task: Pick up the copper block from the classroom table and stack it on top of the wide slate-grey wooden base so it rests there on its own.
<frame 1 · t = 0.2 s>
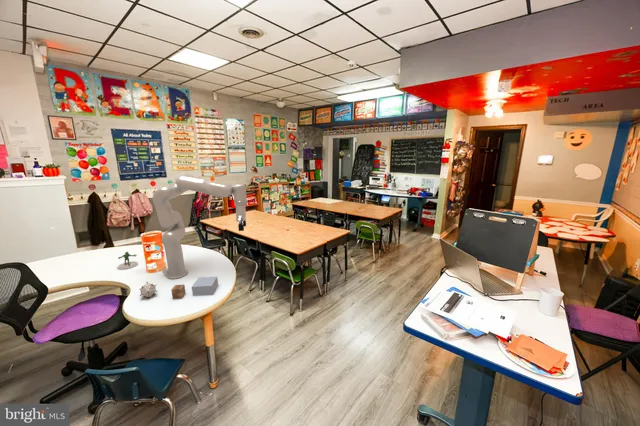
hand: (242, 228, 165), 31 cm above the table, fingers open, 9 cm apart
game die: (149, 296, 143), on the table
slate base: (206, 290, 149), on the table
copper block: (179, 296, 143), on the table
monster figurine: (128, 266, 180), on the table
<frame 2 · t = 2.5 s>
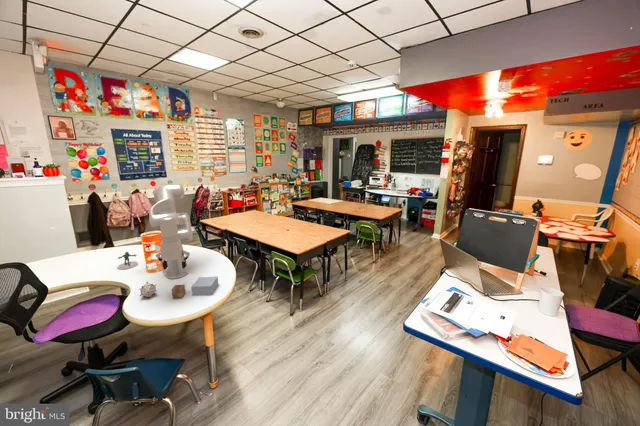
hand: (175, 268, 138), 18 cm above the table, fingers open, 9 cm apart
nothing on the table moved.
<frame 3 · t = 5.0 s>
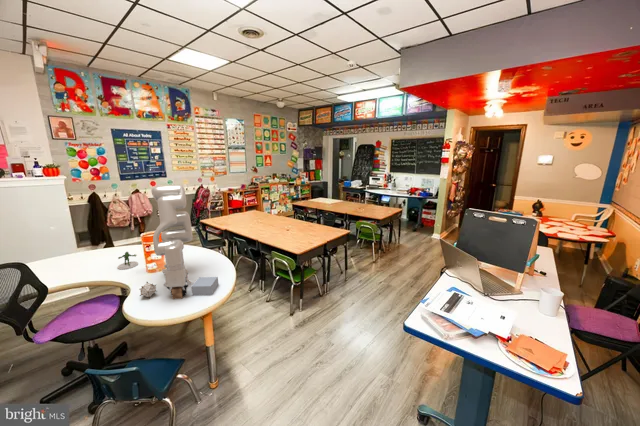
hand: (179, 295, 142), 1 cm above the table, fingers closed on copper block, 5 cm apart
copper block: (179, 296, 143), on the table, touching gripper
everything else where it was.
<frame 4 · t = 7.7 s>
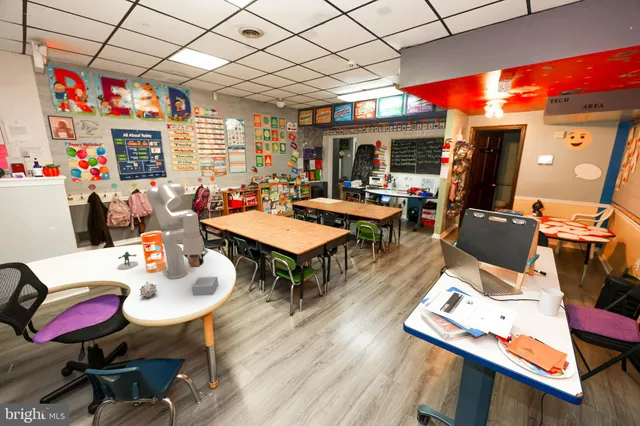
hand: (196, 264, 143), 18 cm above the table, fingers closed on copper block, 4 cm apart
copper block: (196, 265, 143), point 17 cm above the table, touching gripper
everything else where it was.
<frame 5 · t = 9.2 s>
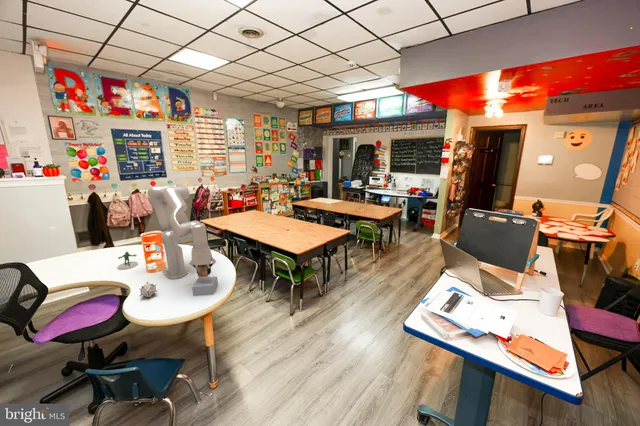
hand: (204, 273, 146), 11 cm above the table, fingers closed on copper block, 4 cm apart
copper block: (204, 275, 146), point 10 cm above the table, touching gripper
everything else where it was.
when the fingers open (8 cm above the table, at t = 10.4 s): copper block drops 2 cm, resting on slate base.
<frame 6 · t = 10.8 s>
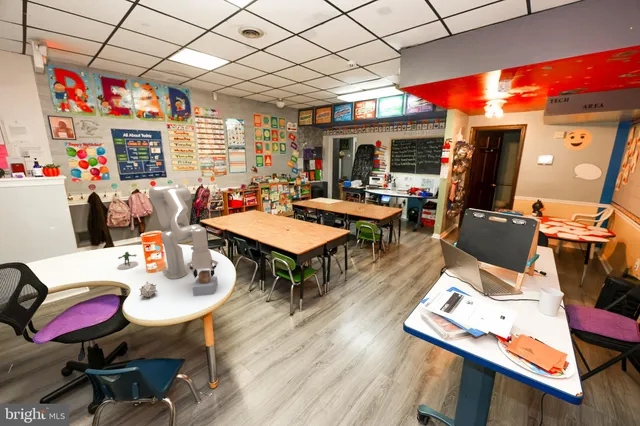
hand: (204, 276, 147), 9 cm above the table, fingers open, 8 cm apart
slate base: (206, 290, 149), on the table, touching copper block
copper block: (205, 281, 147), point 6 cm above the table, touching slate base
everything else where it was.
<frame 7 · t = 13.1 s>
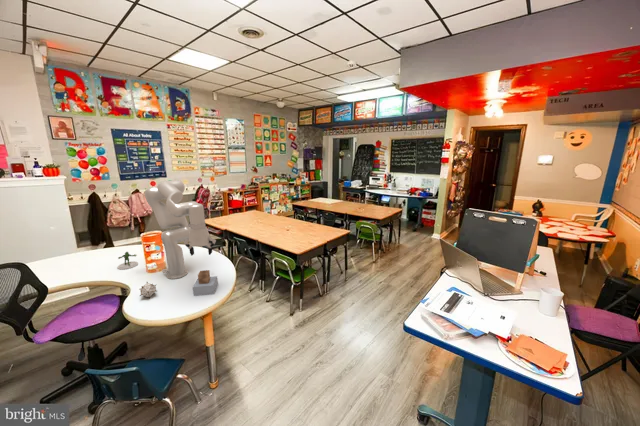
hand: (201, 254, 143), 23 cm above the table, fingers open, 9 cm apart
nothing on the table moved.
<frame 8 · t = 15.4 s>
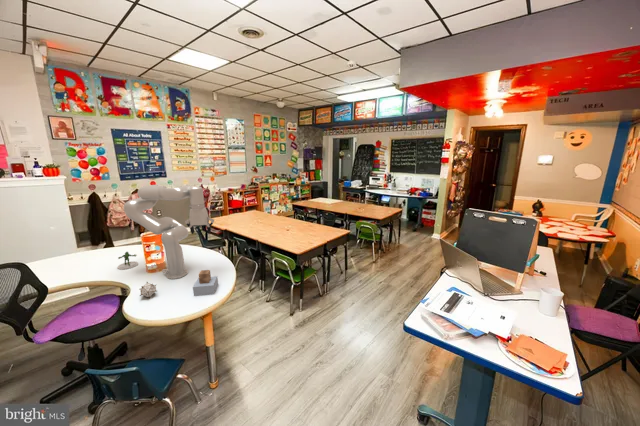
hand: (201, 233, 157), 30 cm above the table, fingers open, 9 cm apart
nothing on the table moved.
at the end: copper block 0.3 cm off-centre on the slate base, point 6.0 cm above the slate base's base; copper block tilted 0°; the gripper is holding nothing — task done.
